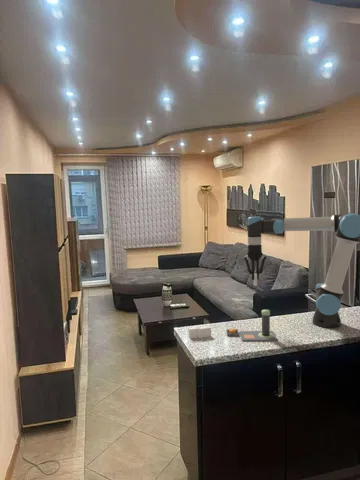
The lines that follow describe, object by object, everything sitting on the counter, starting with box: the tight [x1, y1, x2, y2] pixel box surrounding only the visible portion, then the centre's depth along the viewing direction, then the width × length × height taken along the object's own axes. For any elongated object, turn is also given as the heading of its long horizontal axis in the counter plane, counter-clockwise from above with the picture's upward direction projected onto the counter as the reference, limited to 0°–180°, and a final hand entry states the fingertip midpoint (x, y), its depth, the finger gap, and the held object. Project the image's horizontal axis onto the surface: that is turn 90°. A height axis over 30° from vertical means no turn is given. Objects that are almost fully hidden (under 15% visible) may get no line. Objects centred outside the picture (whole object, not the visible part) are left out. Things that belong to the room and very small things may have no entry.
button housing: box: [226, 328, 240, 337], centre depth 190 cm, size 6×6×2 cm
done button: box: [228, 328, 237, 333], centre depth 190 cm, size 4×4×2 cm
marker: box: [261, 309, 271, 336], centre depth 185 cm, size 4×4×13 cm
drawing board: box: [239, 330, 279, 342], centre depth 185 cm, size 18×12×1 cm, turn 87°
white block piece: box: [187, 325, 212, 339], centre depth 188 cm, size 15×11×6 cm
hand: (255, 285), depth 201 cm, fingers closed
